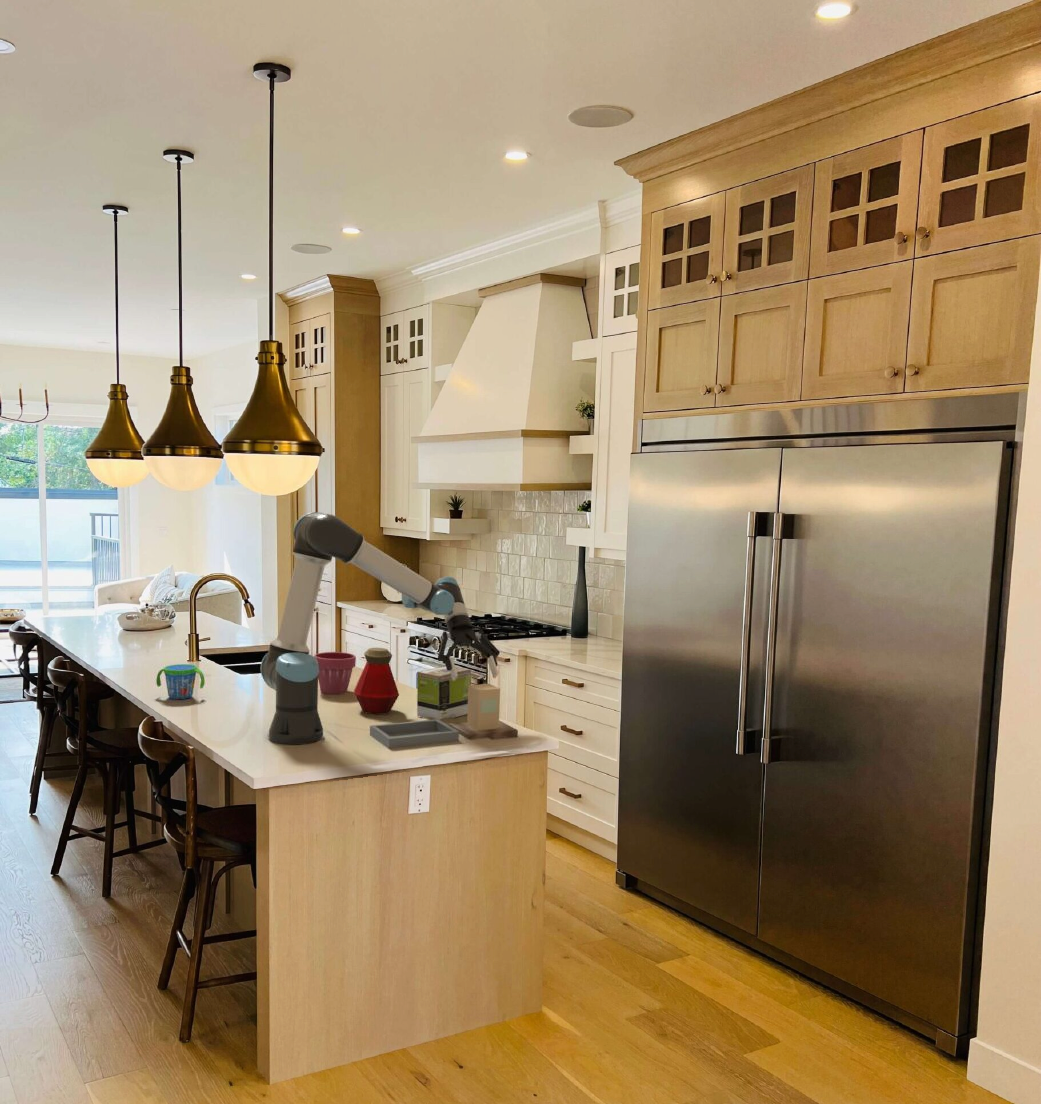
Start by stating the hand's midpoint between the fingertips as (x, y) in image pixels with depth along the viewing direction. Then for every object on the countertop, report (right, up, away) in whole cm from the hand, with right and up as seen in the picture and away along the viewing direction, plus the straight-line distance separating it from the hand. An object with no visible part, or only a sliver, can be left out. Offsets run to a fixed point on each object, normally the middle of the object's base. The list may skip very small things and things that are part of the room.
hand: (475, 677), depth 292 cm
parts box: (+2, -14, -5) cm, 15 cm away
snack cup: (-99, -10, +27) cm, 103 cm away
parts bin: (-17, -16, -16) cm, 28 cm away
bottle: (-33, -13, +18) cm, 40 cm away
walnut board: (+2, -16, -5) cm, 17 cm away
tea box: (-11, -14, +15) cm, 23 cm away
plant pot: (-51, -11, +43) cm, 68 cm away
